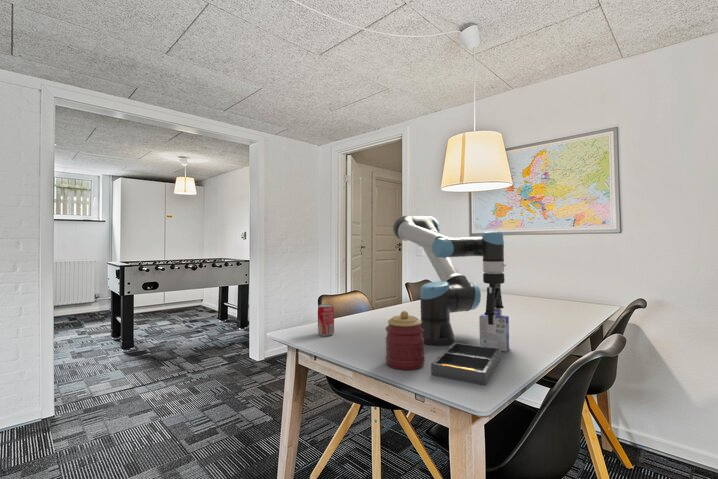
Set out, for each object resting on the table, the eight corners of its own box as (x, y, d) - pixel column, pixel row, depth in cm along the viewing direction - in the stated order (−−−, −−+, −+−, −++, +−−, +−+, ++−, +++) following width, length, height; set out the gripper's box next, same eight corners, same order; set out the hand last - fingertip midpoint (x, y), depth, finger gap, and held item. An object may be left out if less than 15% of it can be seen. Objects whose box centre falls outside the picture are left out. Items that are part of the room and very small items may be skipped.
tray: (431, 375, 109) (431, 363, 109) (454, 351, 131) (454, 341, 131) (485, 385, 101) (485, 372, 101) (500, 358, 123) (500, 348, 123)
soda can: (337, 333, 158) (337, 304, 158) (327, 337, 152) (327, 307, 152) (324, 331, 162) (324, 303, 162) (314, 335, 156) (314, 305, 156)
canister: (425, 371, 112) (424, 315, 112) (383, 369, 114) (383, 314, 114) (424, 358, 125) (423, 307, 125) (387, 356, 127) (386, 307, 127)
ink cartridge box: (509, 348, 134) (509, 309, 134) (507, 352, 130) (506, 312, 130) (482, 344, 140) (482, 307, 139) (479, 348, 135) (478, 309, 135)
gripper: (498, 275, 122) (499, 338, 122) (509, 270, 143) (510, 323, 143) (475, 275, 126) (477, 335, 125) (489, 269, 147) (490, 321, 147)
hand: (494, 329), depth 134 cm, fingers open, 13 cm apart
